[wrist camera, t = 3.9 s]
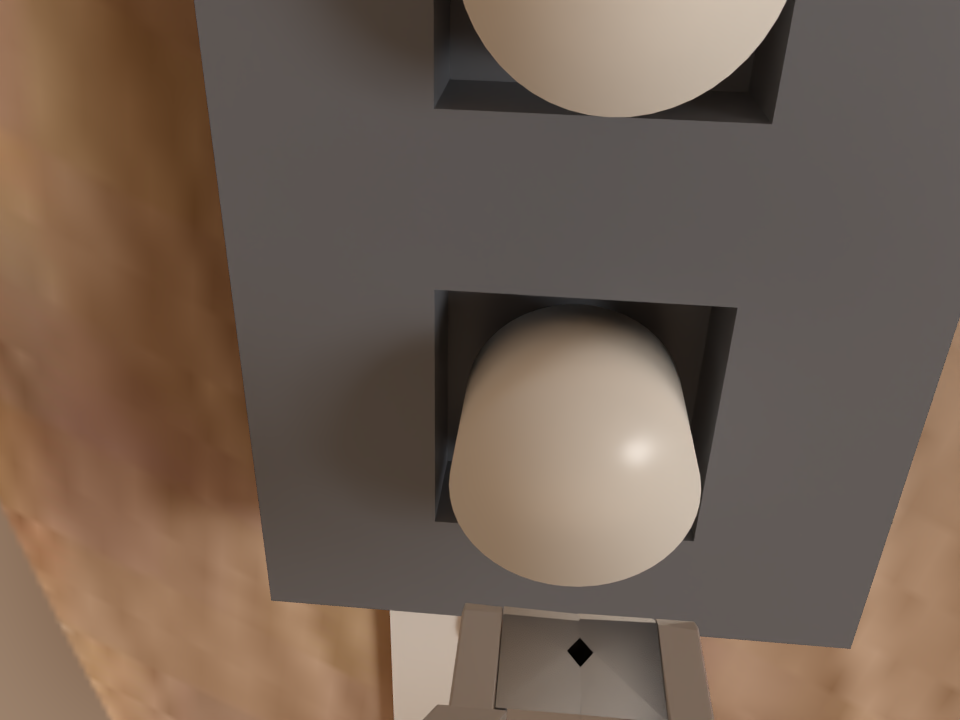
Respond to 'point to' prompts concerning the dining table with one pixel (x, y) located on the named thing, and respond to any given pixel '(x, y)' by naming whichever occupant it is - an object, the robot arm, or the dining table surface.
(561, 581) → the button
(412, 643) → the pattern card
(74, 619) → the dining table surface
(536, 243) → the button panel
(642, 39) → the button middle
